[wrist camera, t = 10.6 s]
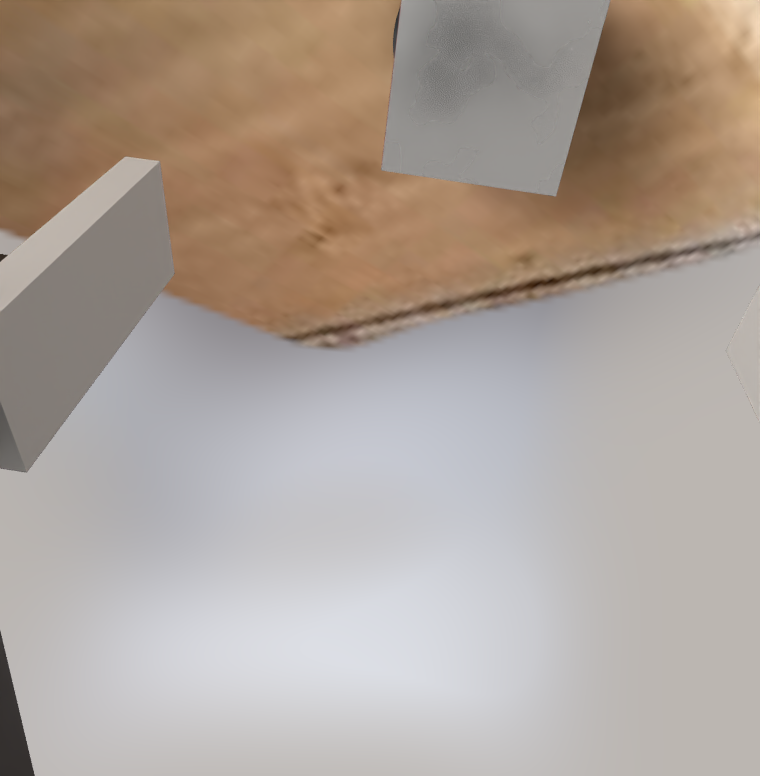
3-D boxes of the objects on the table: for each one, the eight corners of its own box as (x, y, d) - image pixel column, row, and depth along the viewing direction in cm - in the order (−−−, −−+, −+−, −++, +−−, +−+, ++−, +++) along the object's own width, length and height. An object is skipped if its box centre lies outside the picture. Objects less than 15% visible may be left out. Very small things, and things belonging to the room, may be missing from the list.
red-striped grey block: (399, 109, 32) (379, 171, 24) (419, -50, 29) (404, -40, 20) (531, 128, 32) (556, 197, 24) (569, -28, 29) (614, -9, 20)
